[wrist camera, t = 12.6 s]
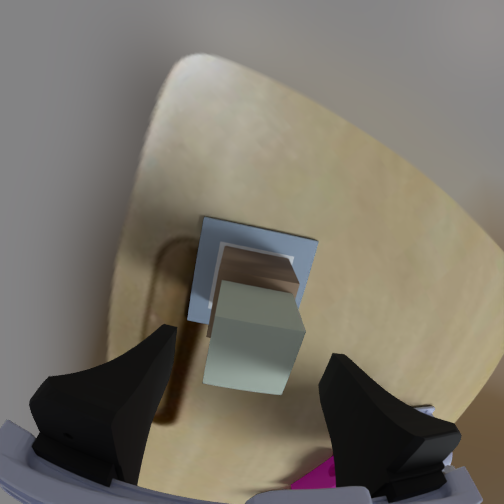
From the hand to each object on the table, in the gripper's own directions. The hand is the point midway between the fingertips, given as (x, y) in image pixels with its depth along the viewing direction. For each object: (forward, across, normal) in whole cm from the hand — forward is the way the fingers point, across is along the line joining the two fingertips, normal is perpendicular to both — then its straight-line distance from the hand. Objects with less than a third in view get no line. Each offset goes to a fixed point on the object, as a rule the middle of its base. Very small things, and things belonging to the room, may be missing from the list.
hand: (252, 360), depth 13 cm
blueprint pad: (+9, 0, 0) cm, 9 cm away
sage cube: (+4, 0, 0) cm, 4 cm away
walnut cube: (+9, 0, 0) cm, 9 cm away
